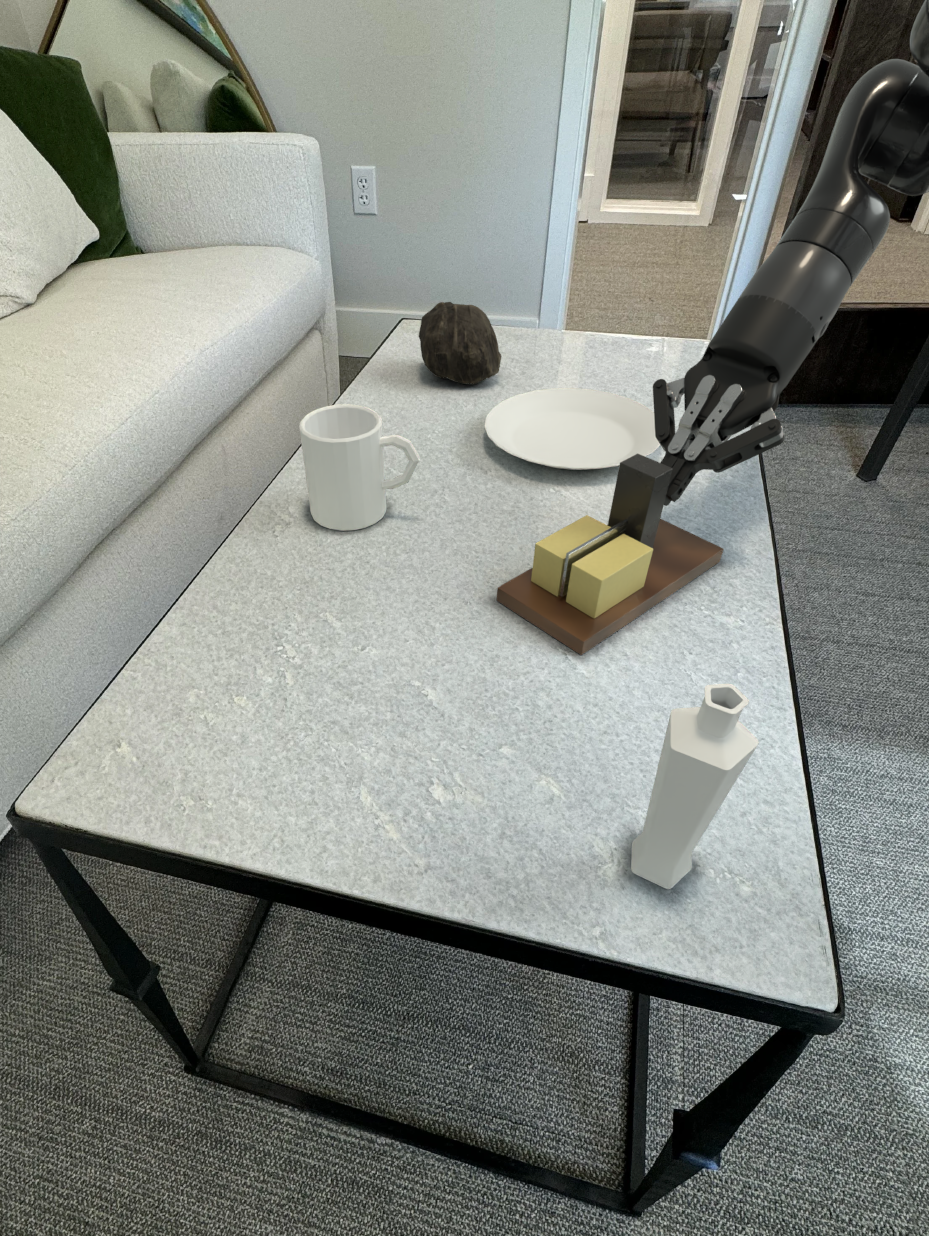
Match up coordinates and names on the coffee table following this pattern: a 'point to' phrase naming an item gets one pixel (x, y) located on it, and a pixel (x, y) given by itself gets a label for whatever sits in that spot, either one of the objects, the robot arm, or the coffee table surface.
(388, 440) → the mug
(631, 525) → the knife
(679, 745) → the white faceted vase
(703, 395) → the robot arm
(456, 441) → the coffee table surface
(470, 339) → the rock
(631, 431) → the plate
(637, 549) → the butter
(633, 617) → the slicer board
